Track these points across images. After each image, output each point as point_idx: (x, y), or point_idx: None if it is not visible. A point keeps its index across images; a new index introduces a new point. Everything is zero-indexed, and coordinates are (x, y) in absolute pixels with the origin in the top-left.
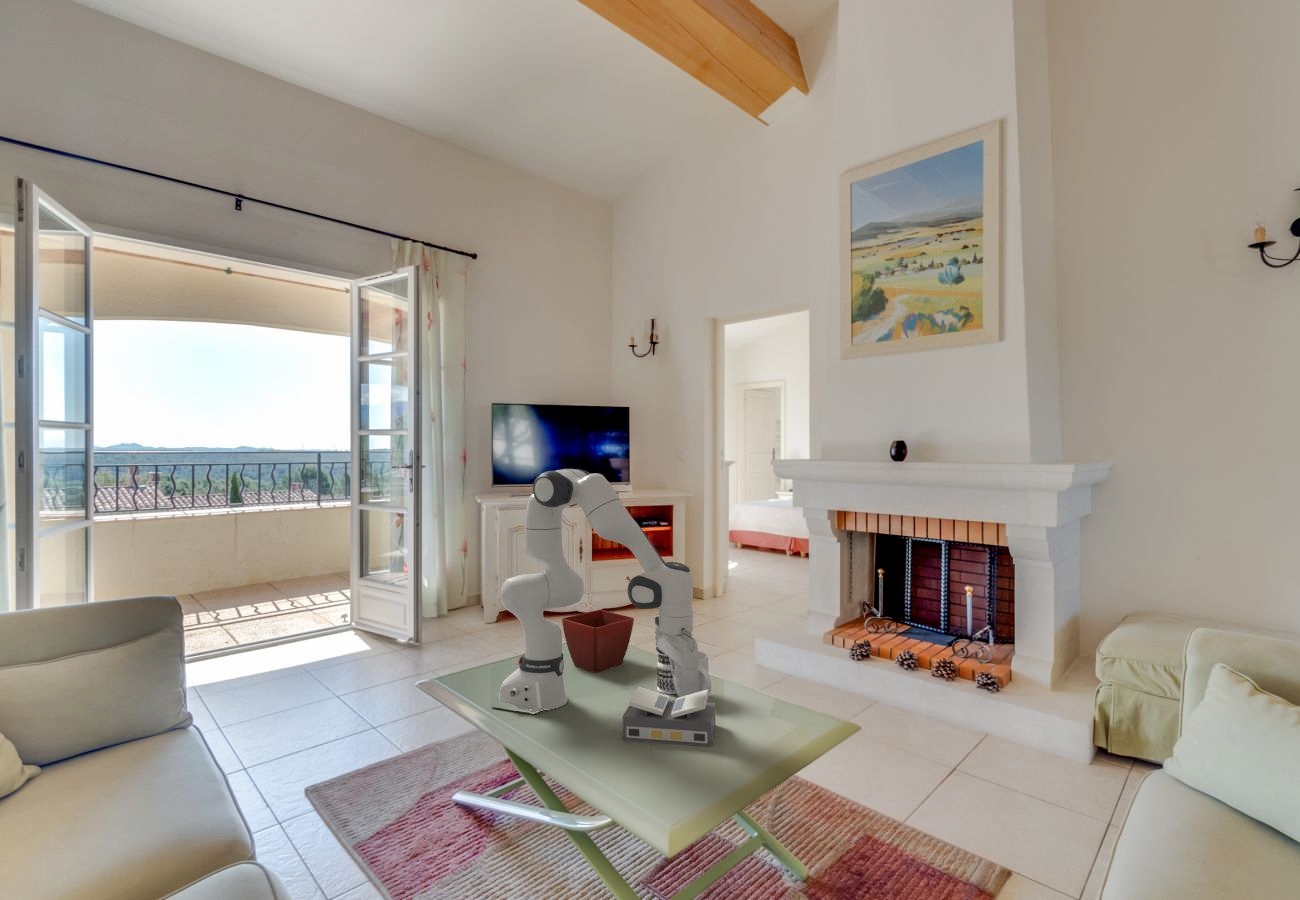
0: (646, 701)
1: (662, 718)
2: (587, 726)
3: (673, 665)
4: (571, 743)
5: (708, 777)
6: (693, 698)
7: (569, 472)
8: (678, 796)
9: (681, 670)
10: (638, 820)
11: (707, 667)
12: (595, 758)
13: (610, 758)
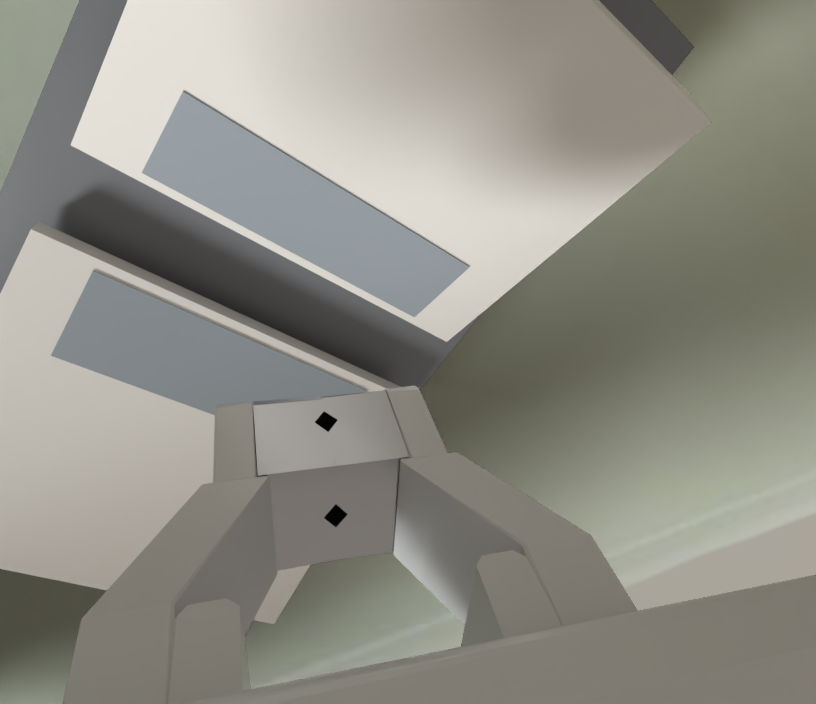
0: None
1: (411, 379)
2: (35, 588)
3: (251, 590)
4: None
5: (812, 220)
6: (357, 64)
7: None
8: (809, 381)
9: (458, 460)
10: (802, 507)
11: None
12: (395, 574)
13: None
